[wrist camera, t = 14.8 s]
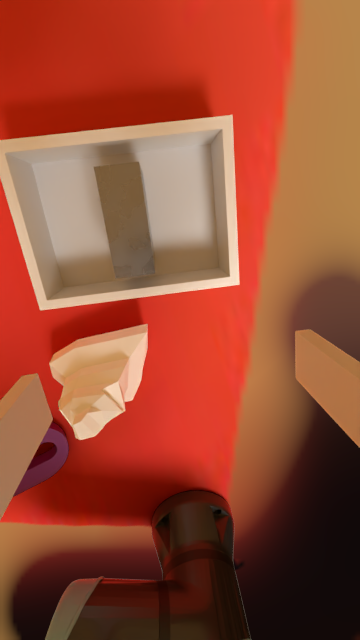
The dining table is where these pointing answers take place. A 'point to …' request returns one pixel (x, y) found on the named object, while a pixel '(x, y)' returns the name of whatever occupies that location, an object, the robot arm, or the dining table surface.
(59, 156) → the cream rectangular tray
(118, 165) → the brushed metal block
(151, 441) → the dining table surface
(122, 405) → the cream faceted chunk
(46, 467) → the mounting bracket
